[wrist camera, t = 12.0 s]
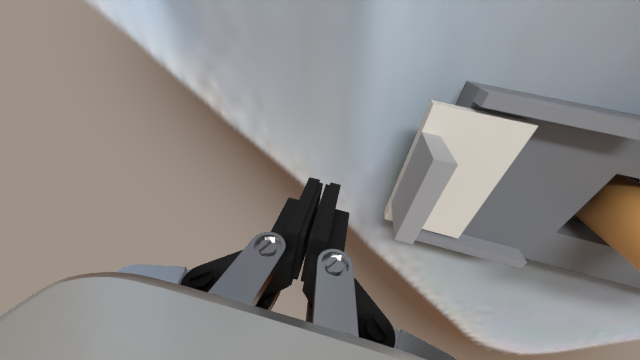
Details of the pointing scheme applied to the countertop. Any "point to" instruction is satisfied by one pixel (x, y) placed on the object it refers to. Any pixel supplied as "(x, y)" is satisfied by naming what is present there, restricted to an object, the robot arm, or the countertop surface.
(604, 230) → the orange rounded capsule
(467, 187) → the lid
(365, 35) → the countertop surface
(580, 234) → the housing
